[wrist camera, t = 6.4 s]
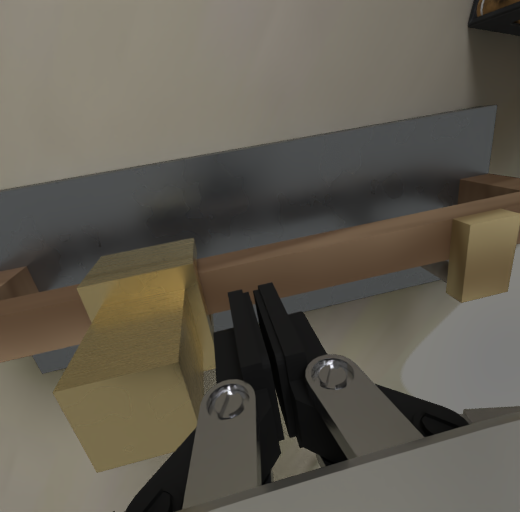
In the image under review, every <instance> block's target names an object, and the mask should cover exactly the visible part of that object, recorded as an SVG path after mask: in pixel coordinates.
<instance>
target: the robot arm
mask: <svg viewBox="0 0 520 512" xmlns="http://www.w3.org/2000/svg"><path fill="white" fill-rule="evenodd" d="M227 293H228V298H229V304H230V310H231V316H232V321H233V328H229V329H225V330H221V331H217V332H214V333H213V337H214V352H215V366H216V380H217V384H216V385H214V386H213V387H212V388H211V389H209V390H208V391H207V392H206V394H205V395H204V397H203V399H202V401H201V404H200V410H199V415H198V421H197V427H196V428H195V429H194V430H193V431H192V433H191V434H190V435H189V436H188V437H187V438H186V439H185V441H184V442H183V443H182V444H181V445H180V446H179V447H178V448H177V450H176V451H175V452H174V453H173V454H172V455H171V456H170V457H169V459H168V460H167V461H166V462H165V463H164V464H163V465H162V466H161V468H160V469H159V470H158V471H157V472H156V473H155V474H154V475H153V477H152V478H151V479H150V480H149V481H148V482H147V483H146V485H145V486H144V487H143V488H142V489H141V490H140V491H139V492H138V494H137V495H136V496H135V497H134V499H133V500H132V501H131V503H130V504H129V506H128V507H127V509H126V511H124V512H520V406H515V407H497V408H479V409H464V411H463V414H457V413H456V412H454V411H452V410H450V409H448V408H445V407H443V406H440V405H437V404H434V403H431V402H428V401H425V400H421V399H419V398H416V397H413V396H410V395H407V394H404V393H401V392H398V391H395V390H392V389H389V388H386V387H383V386H380V385H377V384H374V383H373V382H372V381H371V380H370V378H369V377H368V376H367V375H366V374H365V373H364V372H363V371H362V370H361V369H360V368H359V367H358V366H357V365H356V363H354V362H353V361H352V360H350V359H349V358H346V357H344V356H341V355H336V354H329V355H327V353H326V352H325V350H324V348H323V346H322V345H321V343H320V341H319V339H318V338H317V336H316V334H315V332H314V331H313V329H312V327H311V325H310V324H309V322H308V320H307V318H306V317H305V315H304V313H303V312H302V311H300V312H296V313H291V314H287V312H286V310H285V307H284V305H283V303H282V301H281V299H280V297H279V295H278V293H277V291H276V289H275V287H274V285H273V283H272V282H271V283H267V284H262V285H258V290H253V294H254V300H255V305H256V310H257V315H258V321H259V324H258V321H257V318H256V314H255V311H254V308H253V305H252V301H251V298H250V295H249V292H245V293H243V291H242V289H240V290H236V291H232V292H227ZM259 326H260V327H259ZM275 390H276V392H275ZM276 393H277V397H278V400H279V404H280V407H281V410H282V414H283V417H284V420H285V424H286V427H287V431H288V434H289V437H290V438H291V437H295V436H296V437H297V441H298V444H299V447H300V448H302V447H304V448H306V449H308V450H310V451H312V452H314V453H316V457H317V460H318V463H319V465H320V467H321V468H319V469H316V470H312V471H309V472H305V473H302V474H299V475H295V476H292V477H289V478H285V479H282V480H279V481H275V482H274V481H273V473H272V467H273V466H274V464H275V462H276V461H277V459H278V457H279V456H280V454H281V451H280V446H279V441H281V440H284V434H283V429H282V424H281V418H280V413H279V408H278V402H277V397H276ZM113 512H115V511H113Z"/></svg>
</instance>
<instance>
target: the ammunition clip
mask: <svg viewBox="0 0 520 512" xmlns="http://www.w3.org/2000/svg"><path fill="white" fill-rule="evenodd" d="M468 27H470V28H476V29H482V30H488V31H494V32H500V33H506V34H512V35H518V36H520V0H474V4H473V8H472V12H471V15H470V19H469V23H468Z"/></svg>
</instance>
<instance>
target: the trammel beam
mask: <svg viewBox="0 0 520 512" xmlns="http://www.w3.org/2000/svg"><path fill="white" fill-rule="evenodd" d="M519 243H520V178H515V177H508V176H501V175H494V174H484V175H479V176H474V177H469V178H464V179H460V183H459V194H458V204H457V205H453V206H448V207H443V208H439V209H434V210H429V211H424V212H420V213H415V214H410V215H405V216H401V217H396V218H391V219H386V220H382V221H377V222H372V223H367V224H362V225H358V226H353V227H348V228H343V229H339V230H334V231H329V232H324V233H320V234H315V235H310V236H305V237H300V238H296V239H291V240H286V241H281V242H277V243H272V244H267V245H262V246H258V247H253V248H248V249H243V250H239V251H234V252H229V253H224V254H219V255H215V256H210V257H205V258H200V259H197V271H198V275H199V279H200V282H201V286H202V290H203V294H204V298H205V302H206V306H207V310H208V314H209V315H210V314H214V313H218V312H223V311H227V310H230V304H229V298H228V293H227V292H232V291H236V290H240V289H242V291H243V293H245V292H249V295H250V298H251V301H252V305H253V304H255V300H254V294H253V290H258V285H262V284H267V283H271V282H272V283H273V285H274V287H275V289H276V291H277V293H278V295H279V297H280V298H284V297H288V296H293V295H297V294H301V293H306V292H310V291H314V290H319V289H323V288H327V287H332V286H336V285H341V284H345V283H349V282H354V281H358V280H362V279H367V278H371V277H375V276H380V275H384V274H388V273H393V272H397V271H402V270H406V269H410V268H415V267H419V266H420V267H422V268H424V269H425V270H427V271H428V272H430V273H432V274H433V275H435V276H437V277H438V278H440V279H441V280H443V281H445V282H446V283H447V287H446V293H447V294H449V295H450V296H452V297H453V298H455V299H456V300H458V301H459V302H461V303H463V302H467V301H471V300H475V299H479V298H483V297H487V296H491V295H495V294H499V293H503V292H507V291H508V287H509V281H510V276H511V270H512V264H513V259H514V253H515V248H516V244H519ZM446 260H449V262H448V261H446ZM78 286H79V284H76V285H72V286H67V287H62V288H57V289H53V290H48V291H43V292H39V291H38V289H37V287H36V285H35V283H34V281H33V279H32V277H31V274H30V272H29V270H28V268H27V266H25V267H20V268H15V269H10V270H5V271H0V363H1V362H5V361H9V360H14V359H18V358H22V357H27V356H31V355H35V354H40V353H44V352H48V351H53V350H57V349H62V348H66V347H70V346H75V345H79V344H80V343H81V341H82V339H83V338H84V336H85V334H86V332H87V330H88V329H89V327H90V325H91V320H90V318H89V316H88V313H87V311H86V309H85V307H84V304H83V302H82V300H81V297H80V295H79V293H78V291H77V287H78Z"/></svg>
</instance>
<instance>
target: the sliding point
mask: <svg viewBox="0 0 520 512" xmlns="http://www.w3.org/2000/svg"><path fill="white" fill-rule="evenodd" d="M77 291H78V293H79V295H80V297H81V300H82V302H83V304H84V307H85V309H86V311H87V313H88V316H89V318H90V320H91V325H90V327H89V329H88V330H87V332H86V334H85V336H84V338H83V339H82V341H81V343H80V345H79V347H78V348H77V350H76V352H75V354H74V355H73V357H72V359H71V361H70V363H69V364H68V366H67V368H66V370H65V372H64V373H63V375H62V377H61V379H60V380H59V382H58V384H57V386H56V388H55V389H54V391H53V394H54V396H55V398H56V400H57V401H58V403H59V405H60V407H61V409H62V410H63V412H64V414H65V416H66V418H67V419H68V421H69V423H70V425H71V427H72V428H73V430H74V432H75V434H76V436H77V438H78V439H79V441H80V443H81V445H82V447H83V448H84V450H85V452H86V454H87V456H88V457H89V459H90V461H91V463H92V465H93V466H94V468H95V470H96V472H97V473H98V472H102V471H105V470H109V469H113V468H116V467H120V466H124V465H127V464H131V463H135V462H138V461H142V460H146V459H149V458H153V457H157V456H160V455H164V454H168V453H171V452H175V451H176V450H177V448H178V447H179V446H180V445H181V444H182V443H183V442H184V441H185V439H186V438H187V437H188V436H189V435H190V434H191V433H192V431H193V430H194V429H195V428H196V427H197V421H198V415H199V410H200V404H201V401H202V399H203V397H204V384H203V371H207V370H211V369H215V368H216V366H215V352H214V337H213V333H214V322H213V314H210V315H209V314H208V310H207V306H206V302H205V298H204V294H203V290H202V286H201V282H200V279H199V275H198V271H197V248H196V244H195V240H194V238H189V239H184V240H179V241H174V242H169V243H164V244H159V245H155V246H150V247H145V248H140V249H135V250H130V251H125V252H120V253H115V254H110V255H105V256H101V257H100V259H99V260H98V261H97V262H96V264H95V265H94V266H93V268H92V269H91V270H90V271H89V273H88V274H87V275H86V277H85V278H84V279H83V280H82V282H81V283H80V284H79V286H78V287H77Z"/></svg>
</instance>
